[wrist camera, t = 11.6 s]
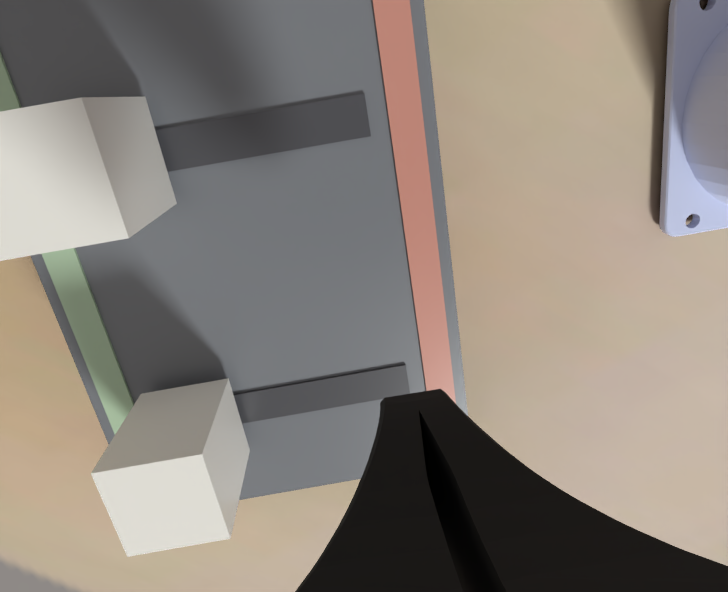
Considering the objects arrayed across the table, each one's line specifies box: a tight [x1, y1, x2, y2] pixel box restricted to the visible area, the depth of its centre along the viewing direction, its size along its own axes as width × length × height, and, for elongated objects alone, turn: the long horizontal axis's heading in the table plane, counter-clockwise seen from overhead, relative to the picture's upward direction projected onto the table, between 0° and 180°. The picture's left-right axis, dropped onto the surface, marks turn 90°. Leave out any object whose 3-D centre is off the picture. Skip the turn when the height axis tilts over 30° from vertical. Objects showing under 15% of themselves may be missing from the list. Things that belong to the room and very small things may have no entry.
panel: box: [0, 0, 468, 500], centre depth 16 cm, size 13×26×2 cm, turn 9°
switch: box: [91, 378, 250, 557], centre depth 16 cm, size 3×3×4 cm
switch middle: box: [0, 96, 177, 261], centre depth 13 cm, size 3×3×4 cm
